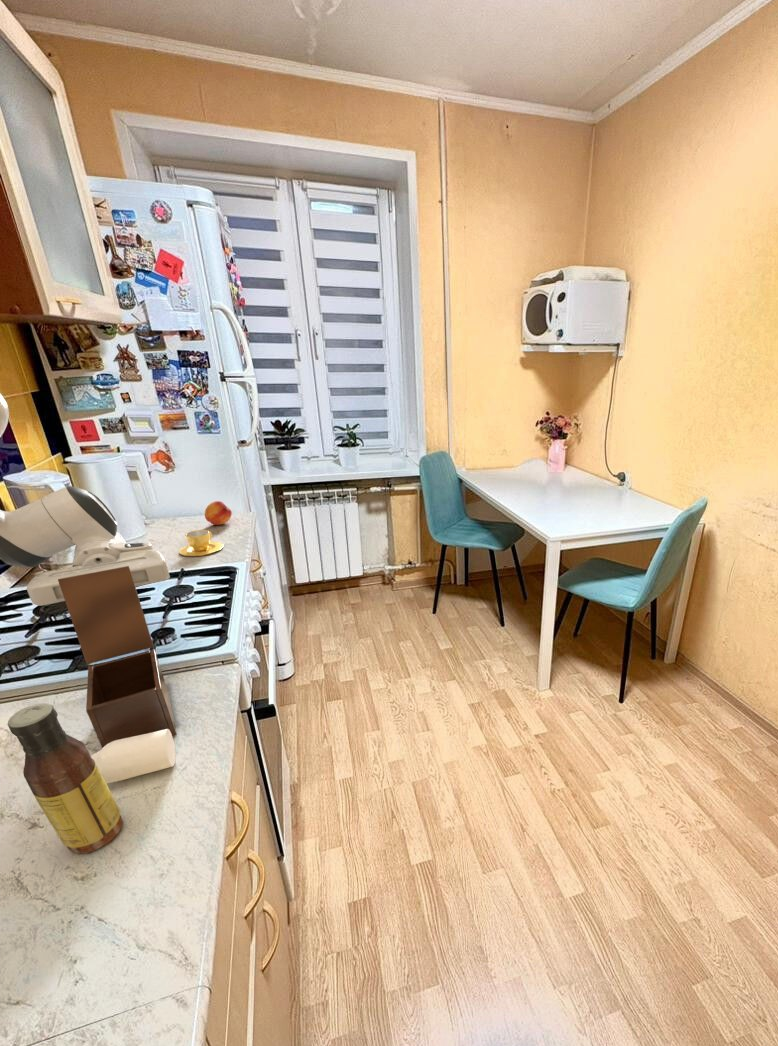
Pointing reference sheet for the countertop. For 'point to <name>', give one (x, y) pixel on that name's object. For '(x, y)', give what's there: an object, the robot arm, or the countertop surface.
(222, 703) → the countertop surface
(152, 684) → the bread box
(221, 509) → the fruit
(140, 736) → the cream bottle
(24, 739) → the sauce bottle
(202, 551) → the cup
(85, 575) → the bread box lid
